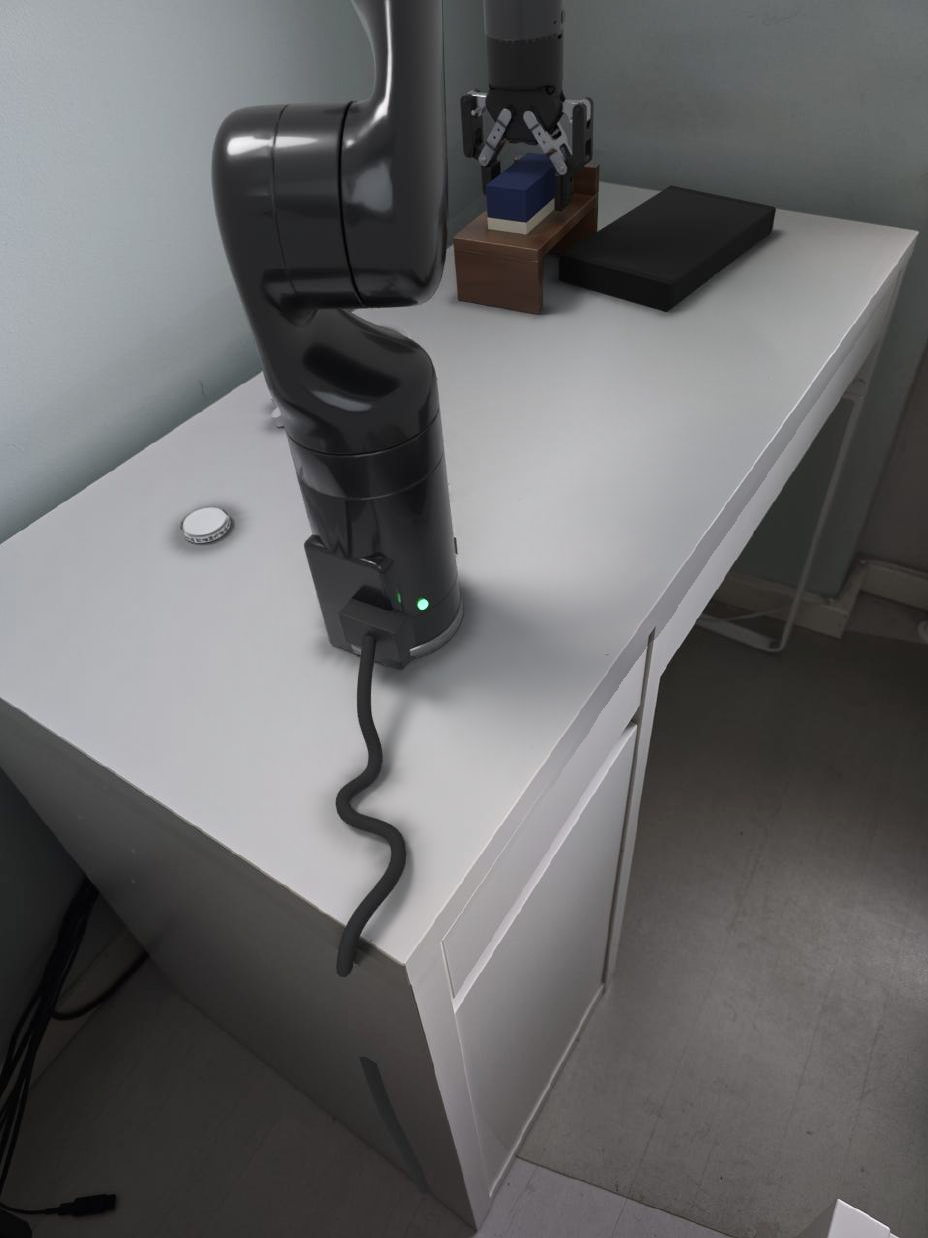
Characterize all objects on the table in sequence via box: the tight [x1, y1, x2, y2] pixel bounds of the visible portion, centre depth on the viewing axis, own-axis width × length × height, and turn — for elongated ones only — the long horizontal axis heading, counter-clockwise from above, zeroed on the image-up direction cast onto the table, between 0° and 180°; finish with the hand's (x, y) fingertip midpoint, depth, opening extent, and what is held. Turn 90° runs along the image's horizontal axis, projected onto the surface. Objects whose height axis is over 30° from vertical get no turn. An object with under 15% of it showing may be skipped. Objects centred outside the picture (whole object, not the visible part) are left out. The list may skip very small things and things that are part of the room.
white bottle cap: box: [179, 505, 232, 544], centre depth 72 cm, size 4×4×1 cm
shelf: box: [452, 154, 601, 315], centre depth 97 cm, size 16×10×10 cm, turn 151°
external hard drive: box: [558, 185, 777, 313], centre depth 100 cm, size 14×23×3 cm, turn 139°
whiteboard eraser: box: [485, 152, 557, 235], centre depth 94 cm, size 10×5×4 cm, turn 151°
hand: (527, 203), depth 95 cm, fingers open, 7 cm apart
